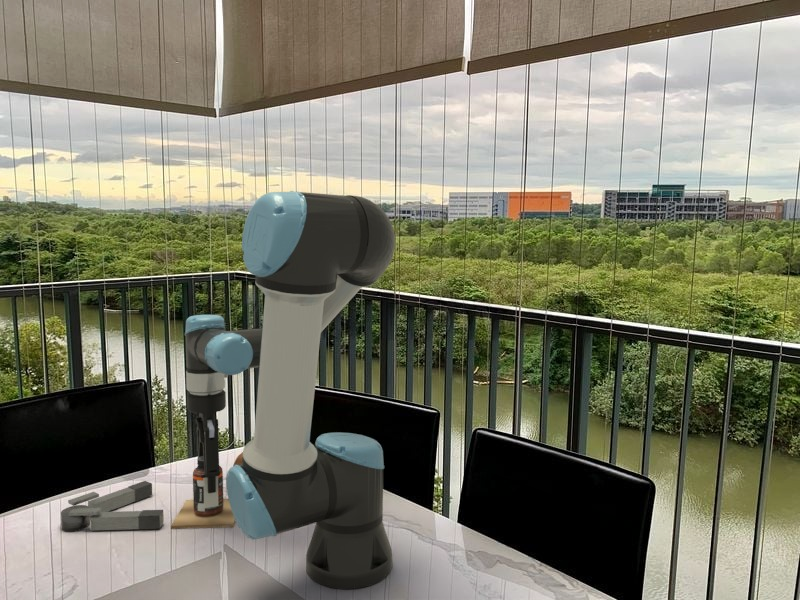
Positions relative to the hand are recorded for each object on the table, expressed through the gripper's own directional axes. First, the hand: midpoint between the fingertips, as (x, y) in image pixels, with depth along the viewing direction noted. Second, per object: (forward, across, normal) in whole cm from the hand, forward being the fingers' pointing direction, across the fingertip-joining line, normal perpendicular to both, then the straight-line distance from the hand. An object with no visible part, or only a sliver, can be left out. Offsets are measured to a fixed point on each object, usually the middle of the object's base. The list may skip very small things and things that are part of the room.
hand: (208, 498), depth 125 cm
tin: (+4, +12, -11) cm, 17 cm away
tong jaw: (+3, +11, +18) cm, 21 cm away
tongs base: (+3, +3, +18) cm, 18 cm away
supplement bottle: (+3, 0, 0) cm, 3 cm away
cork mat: (+3, 0, 0) cm, 3 cm away
